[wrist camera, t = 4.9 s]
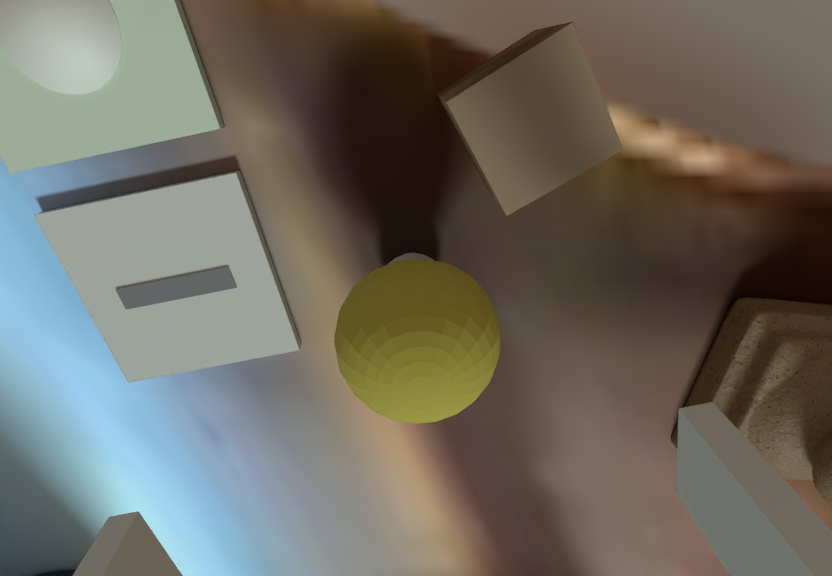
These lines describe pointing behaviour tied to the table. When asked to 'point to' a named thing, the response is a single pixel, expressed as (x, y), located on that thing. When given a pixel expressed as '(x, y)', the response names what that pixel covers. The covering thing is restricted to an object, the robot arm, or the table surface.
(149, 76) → the pad
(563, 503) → the table surface
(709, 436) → the robot arm
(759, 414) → the candle holder
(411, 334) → the light bulb
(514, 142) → the walnut block
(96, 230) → the pad
